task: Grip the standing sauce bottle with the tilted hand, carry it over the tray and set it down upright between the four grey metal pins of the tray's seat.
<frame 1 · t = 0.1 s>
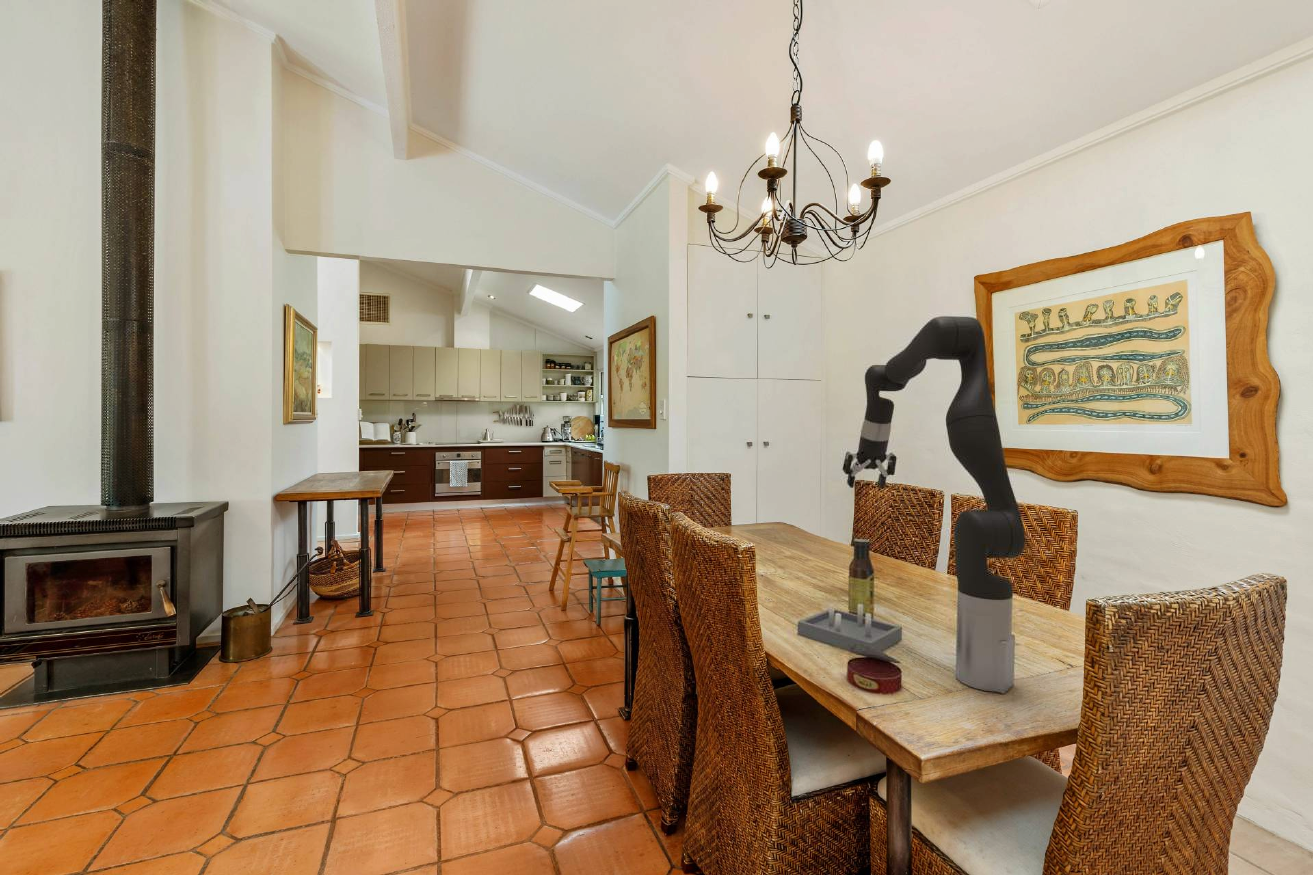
hand: (865, 486, 168), 31 cm above the table, tool tilted 20°, fingers open, 8 cm apart
canned food: (873, 683, 111), on the table
pin tray: (849, 636, 134), on the table
sauce bottle: (860, 618, 148), on the table
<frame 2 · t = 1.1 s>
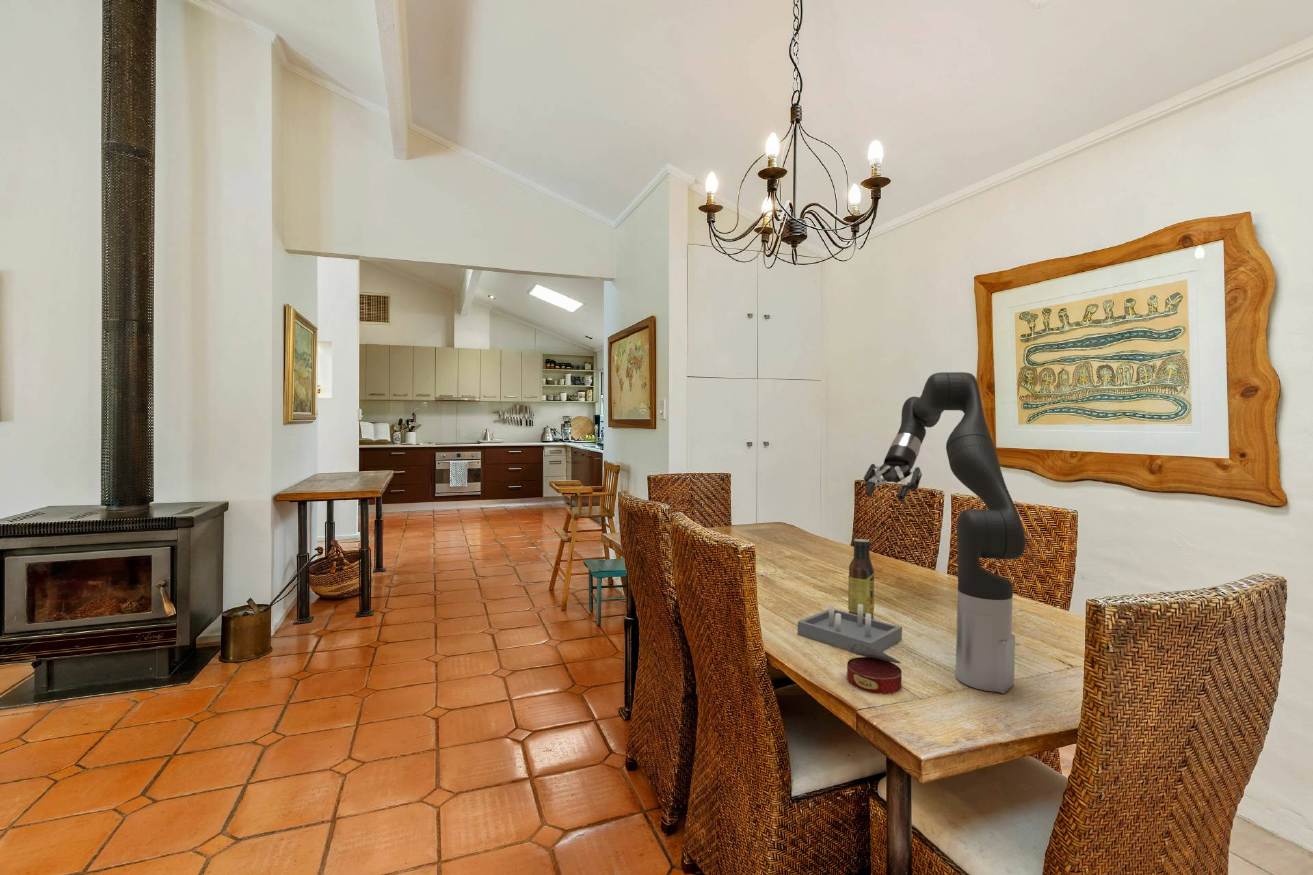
hand: (883, 497, 155), 30 cm above the table, tool tilted 45°, fingers open, 8 cm apart
nothing on the table moved.
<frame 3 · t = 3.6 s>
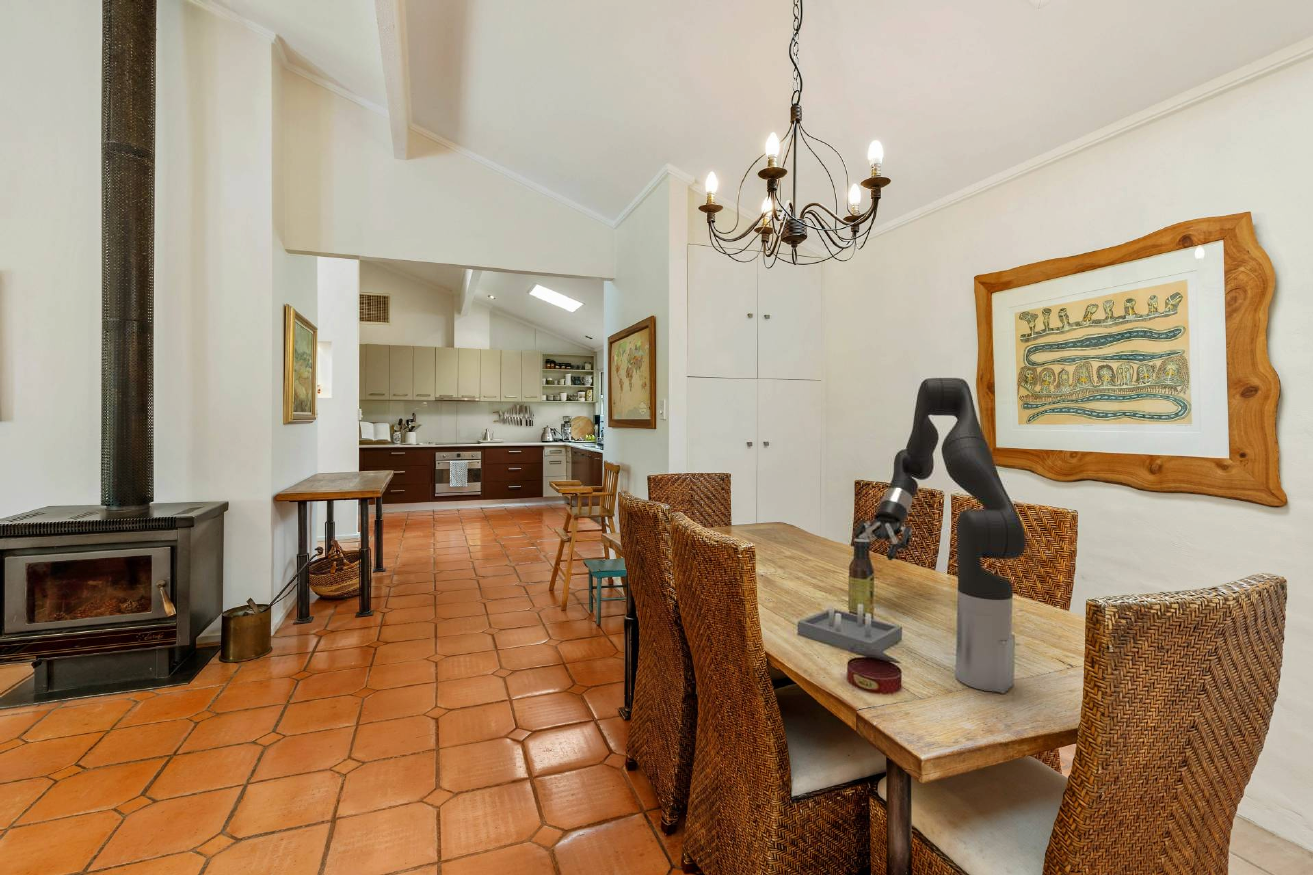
hand: (873, 555, 152), 15 cm above the table, tool tilted 45°, fingers open, 8 cm apart
nothing on the table moved.
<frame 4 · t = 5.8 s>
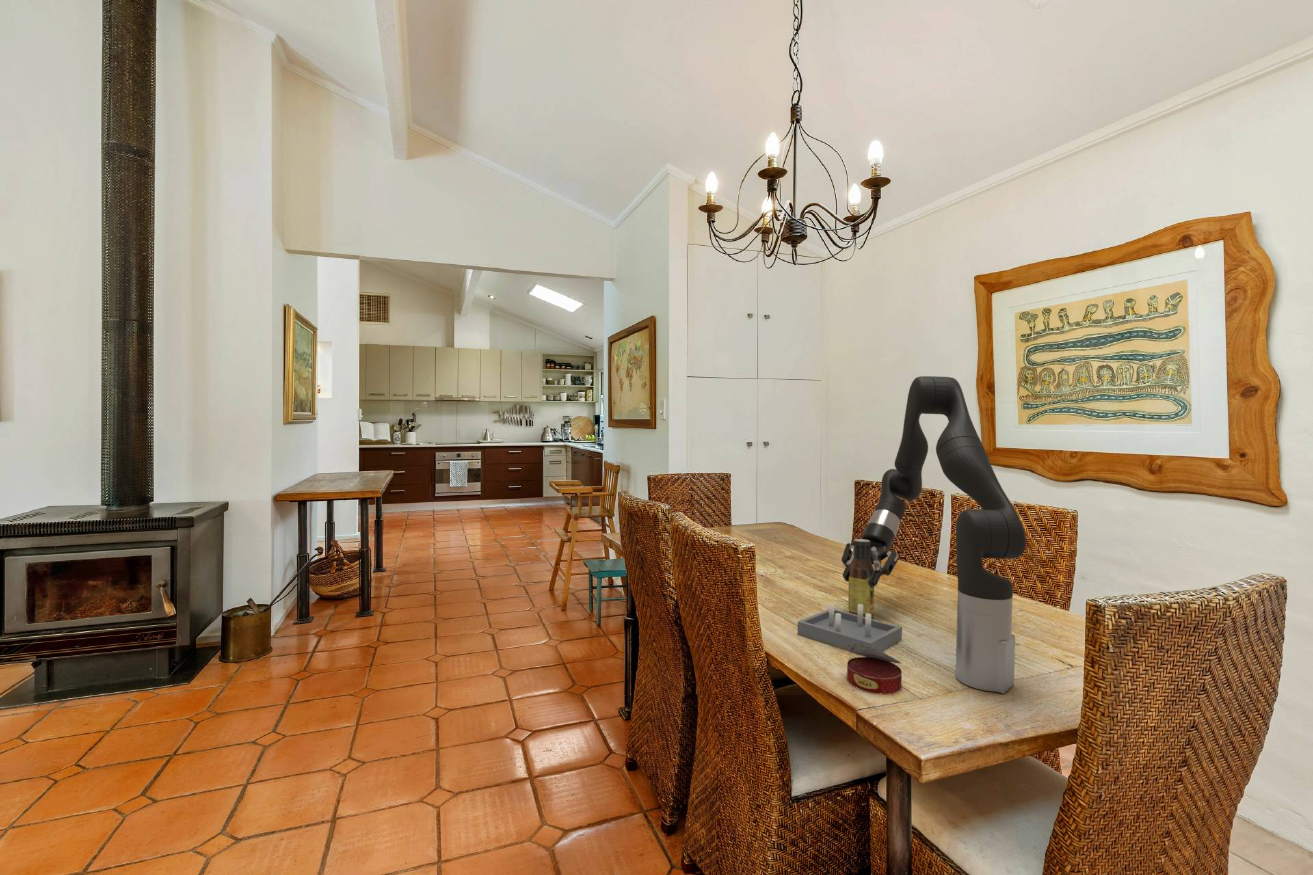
hand: (858, 582, 147), 9 cm above the table, tool tilted 45°, fingers closed on sauce bottle, 6 cm apart
sauce bottle: (860, 618, 148), on the table, touching gripper
everything else where it was.
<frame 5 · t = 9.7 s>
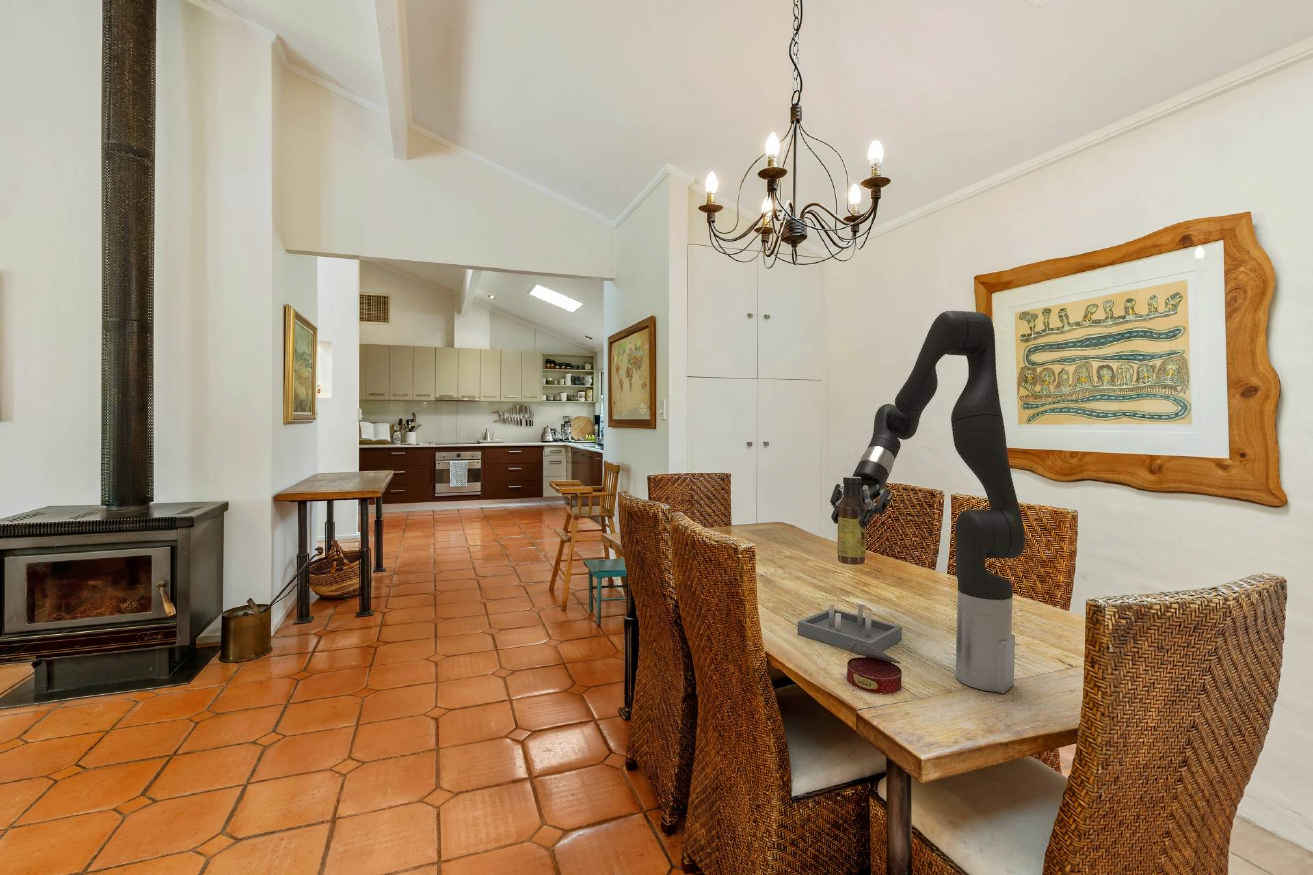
hand: (848, 523, 133), 27 cm above the table, tool tilted 45°, fingers closed on sauce bottle, 6 cm apart
sauce bottle: (851, 563, 134), point 17 cm above the table, touching gripper
everything else where it was.
when the fingers open (12 cm above the table, at t = 13.6 s): sauce bottle stays where it is, resting on pin tray.
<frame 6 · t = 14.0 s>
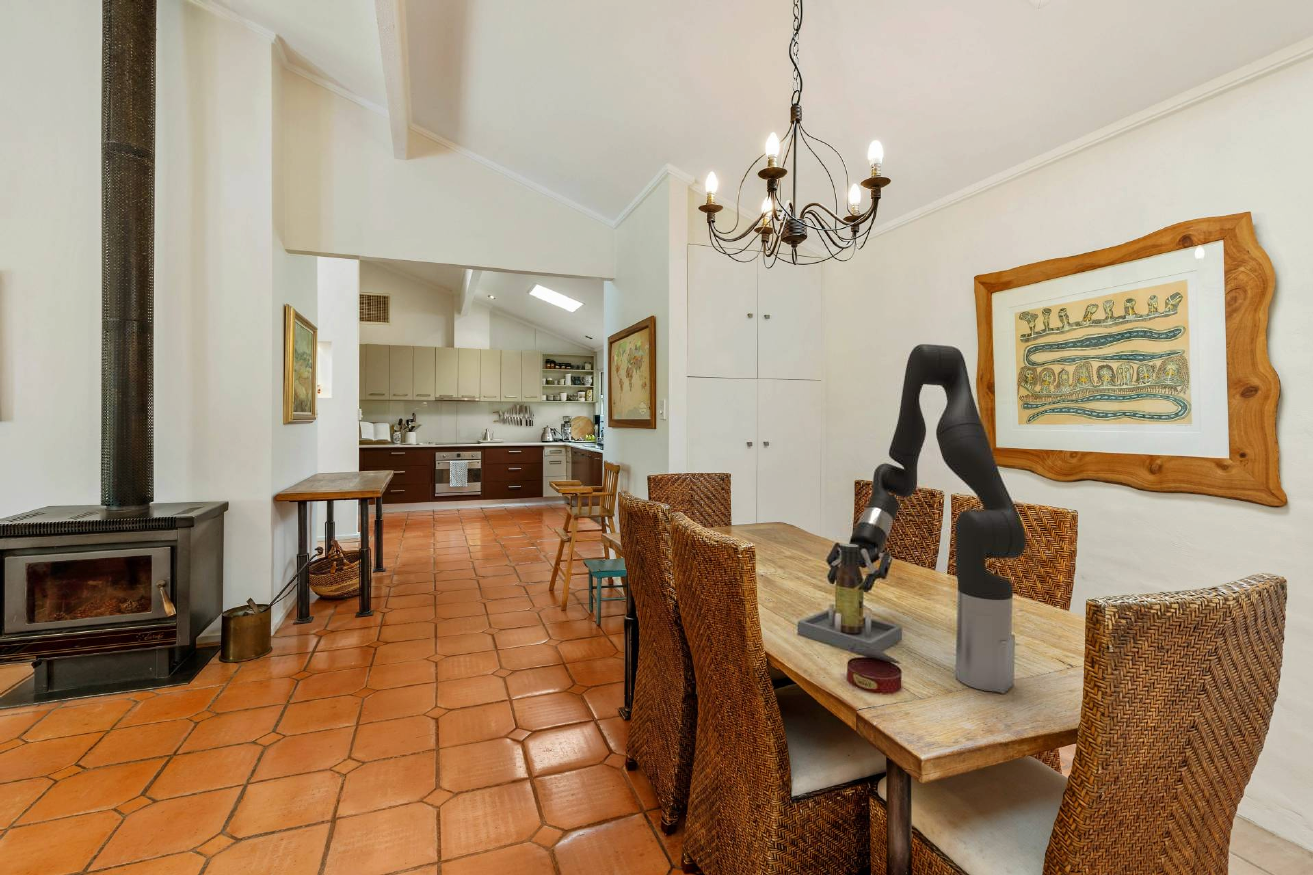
hand: (847, 586, 133), 12 cm above the table, tool tilted 45°, fingers open, 8 cm apart
sauce bottle: (848, 630, 135), point 1 cm above the table, touching pin tray
everything else where it was.
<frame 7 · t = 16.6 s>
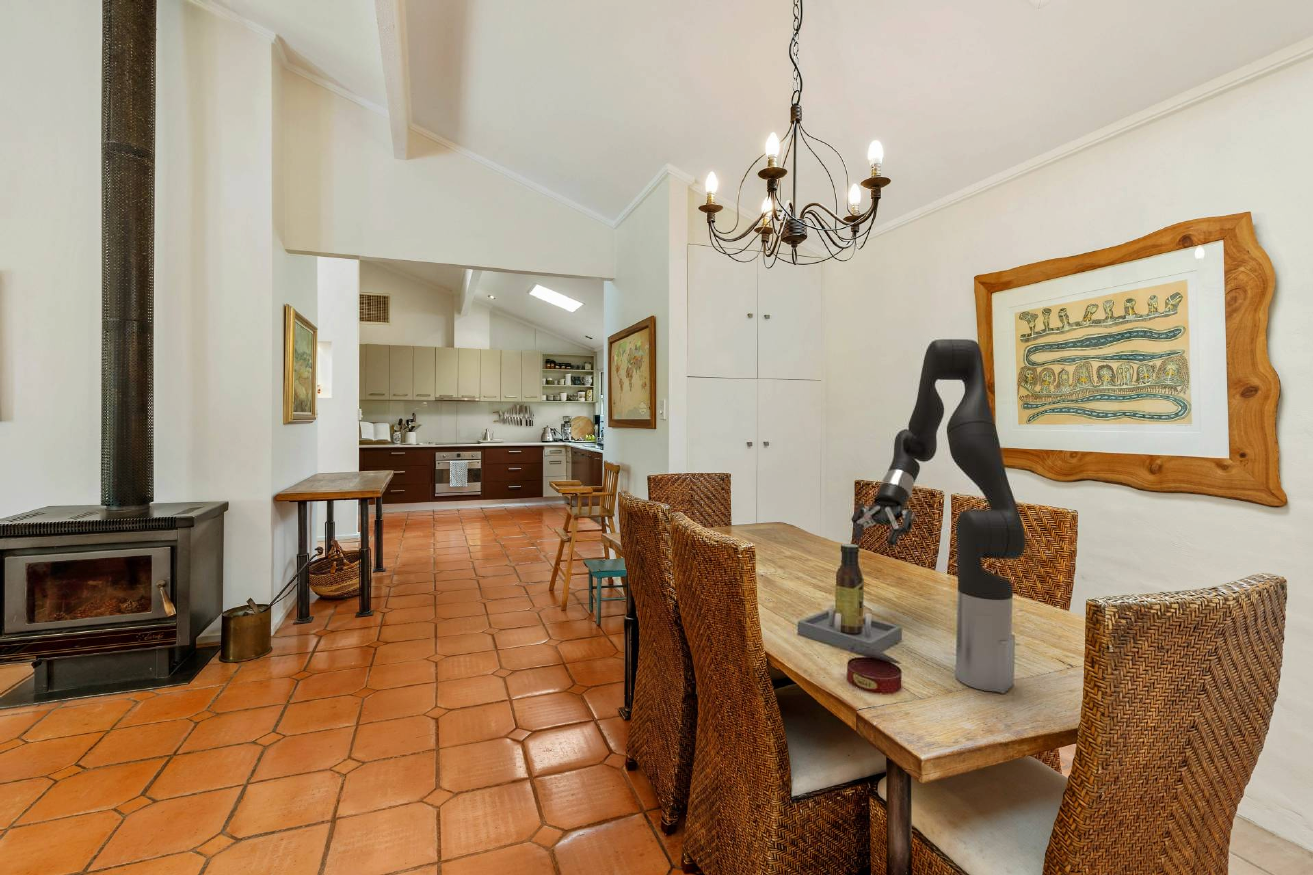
hand: (872, 541, 141), 21 cm above the table, tool tilted 45°, fingers open, 8 cm apart
nothing on the table moved.
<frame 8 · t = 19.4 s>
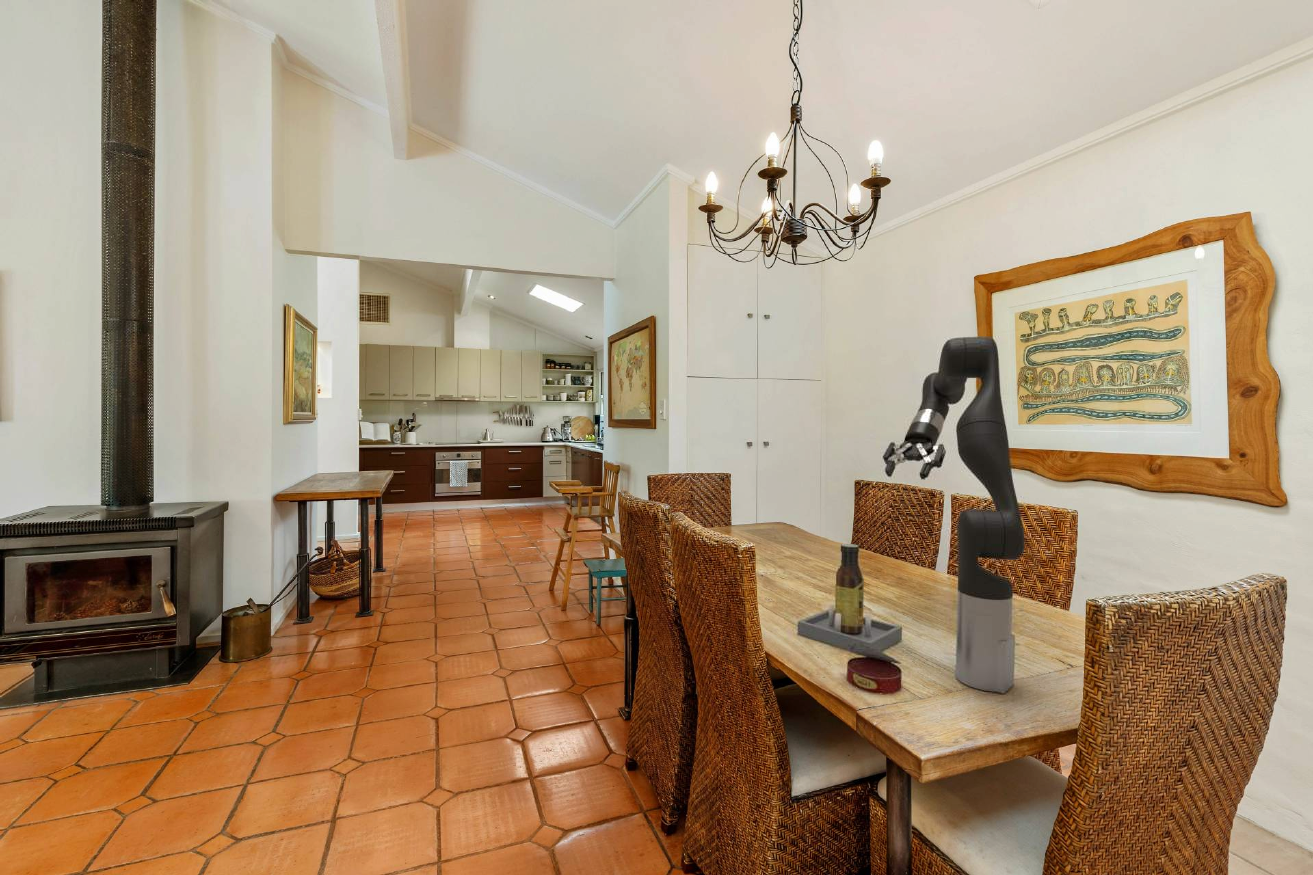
hand: (904, 475, 145), 37 cm above the table, tool tilted 45°, fingers open, 8 cm apart
nothing on the table moved.
at the end: sauce bottle 0.3 cm off-centre on the pin tray, point 1.3 cm above the pin tray's base; sauce bottle tilted 0°; the gripper is holding nothing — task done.
